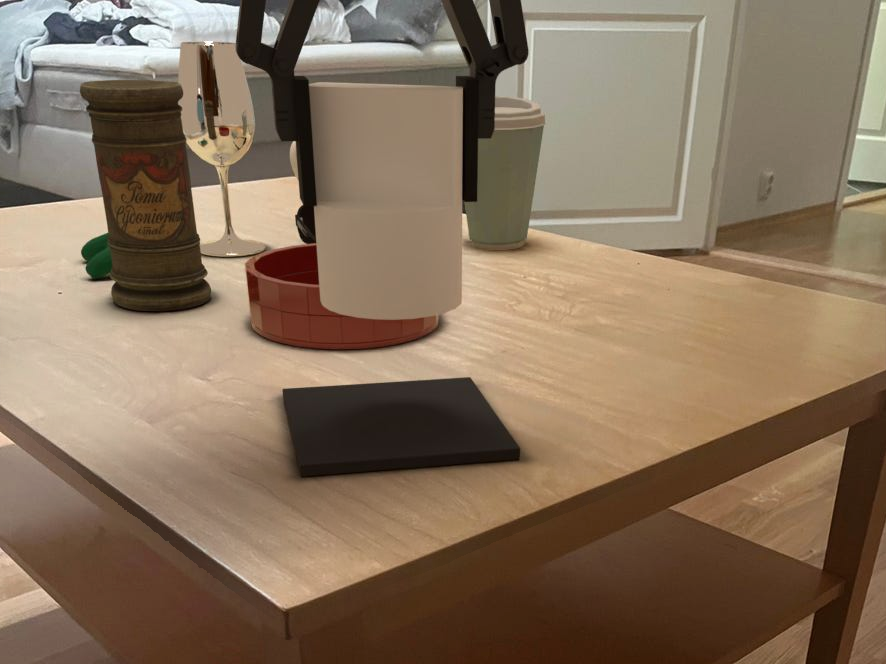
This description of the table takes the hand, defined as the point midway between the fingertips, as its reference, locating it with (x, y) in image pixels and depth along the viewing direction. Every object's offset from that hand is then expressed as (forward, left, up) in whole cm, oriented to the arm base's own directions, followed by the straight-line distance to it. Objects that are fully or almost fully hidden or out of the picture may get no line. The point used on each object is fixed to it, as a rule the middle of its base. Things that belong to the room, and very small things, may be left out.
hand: (388, 199), depth 61 cm
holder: (0, 0, -15) cm, 15 cm away
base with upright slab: (0, 0, -6) cm, 6 cm away
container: (-16, +36, -15) cm, 42 cm away
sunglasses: (+4, +52, -15) cm, 54 cm away
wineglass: (-9, +56, -15) cm, 59 cm away
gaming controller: (-21, +49, -15) cm, 55 cm away
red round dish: (0, +26, -15) cm, 30 cm away
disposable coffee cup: (+21, +54, -15) cm, 60 cm away
